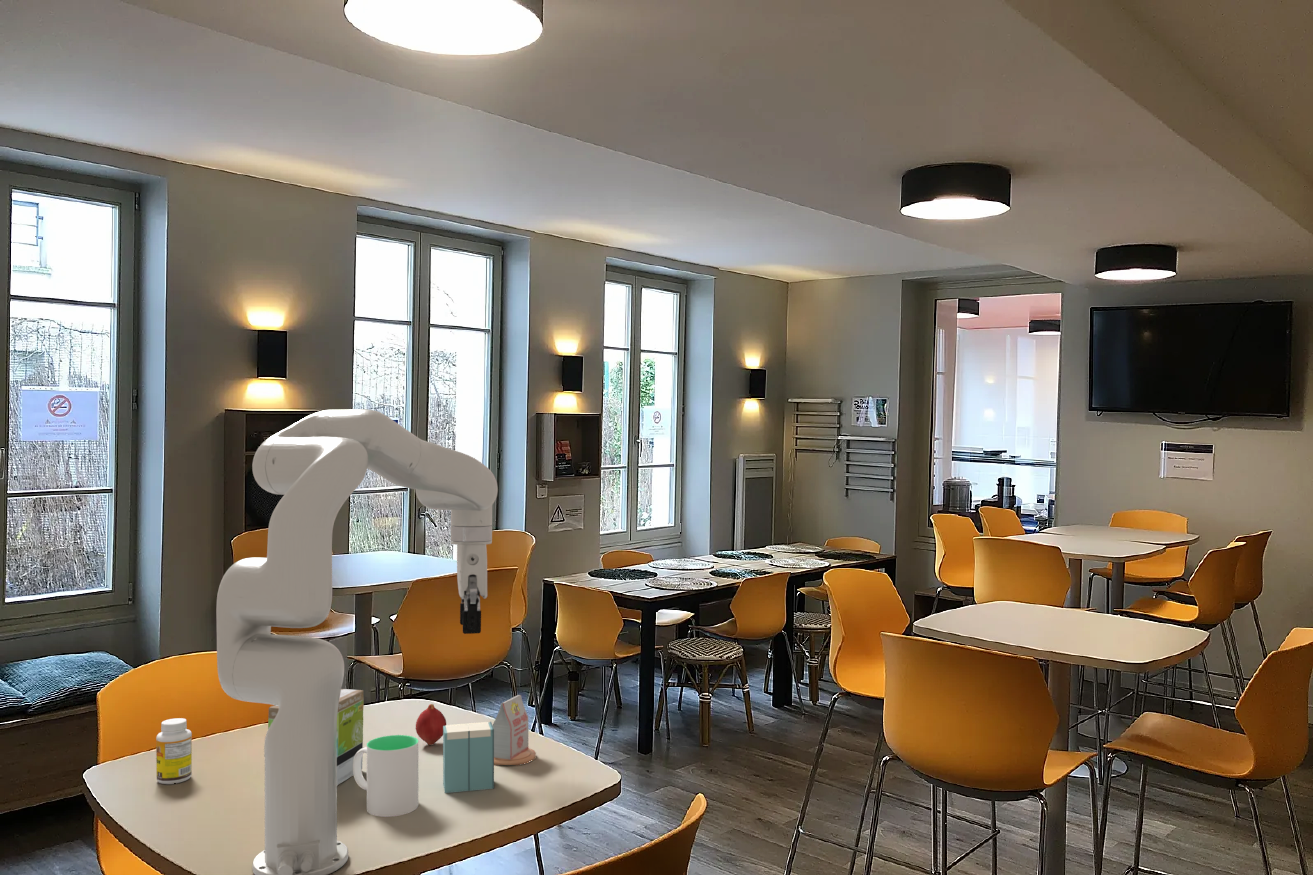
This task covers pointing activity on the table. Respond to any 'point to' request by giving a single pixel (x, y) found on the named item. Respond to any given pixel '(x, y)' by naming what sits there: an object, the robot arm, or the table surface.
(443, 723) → the onion
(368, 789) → the mug
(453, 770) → the teal and cream box
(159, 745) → the supplement bottle
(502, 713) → the white gable carton
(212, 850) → the table surface
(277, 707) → the tea box
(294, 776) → the robot arm
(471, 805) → the table surface
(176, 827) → the table surface
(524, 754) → the saucer
